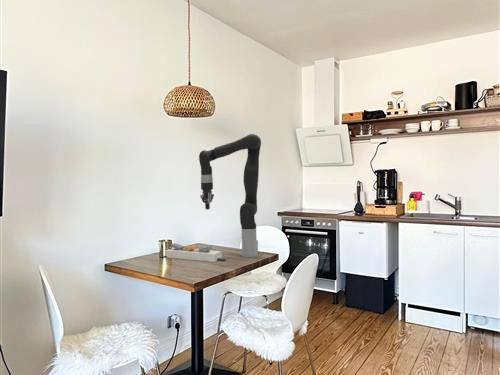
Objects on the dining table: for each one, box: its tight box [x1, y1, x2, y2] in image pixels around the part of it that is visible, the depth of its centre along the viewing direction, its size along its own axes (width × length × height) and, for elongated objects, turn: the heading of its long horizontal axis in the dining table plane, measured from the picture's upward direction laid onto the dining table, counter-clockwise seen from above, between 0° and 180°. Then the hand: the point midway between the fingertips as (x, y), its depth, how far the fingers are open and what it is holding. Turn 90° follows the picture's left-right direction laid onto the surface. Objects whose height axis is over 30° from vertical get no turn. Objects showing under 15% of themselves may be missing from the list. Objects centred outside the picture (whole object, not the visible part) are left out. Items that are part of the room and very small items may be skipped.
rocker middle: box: [184, 244, 198, 250], centre depth 223 cm, size 7×4×2 cm, turn 64°
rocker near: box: [198, 245, 213, 252], centre depth 218 cm, size 7×4×2 cm, turn 63°
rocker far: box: [170, 242, 185, 250], centre depth 227 cm, size 7×4×2 cm, turn 64°
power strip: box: [165, 247, 226, 263], centre depth 222 cm, size 43×9×5 cm, turn 64°
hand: (207, 209), depth 231 cm, fingers closed
